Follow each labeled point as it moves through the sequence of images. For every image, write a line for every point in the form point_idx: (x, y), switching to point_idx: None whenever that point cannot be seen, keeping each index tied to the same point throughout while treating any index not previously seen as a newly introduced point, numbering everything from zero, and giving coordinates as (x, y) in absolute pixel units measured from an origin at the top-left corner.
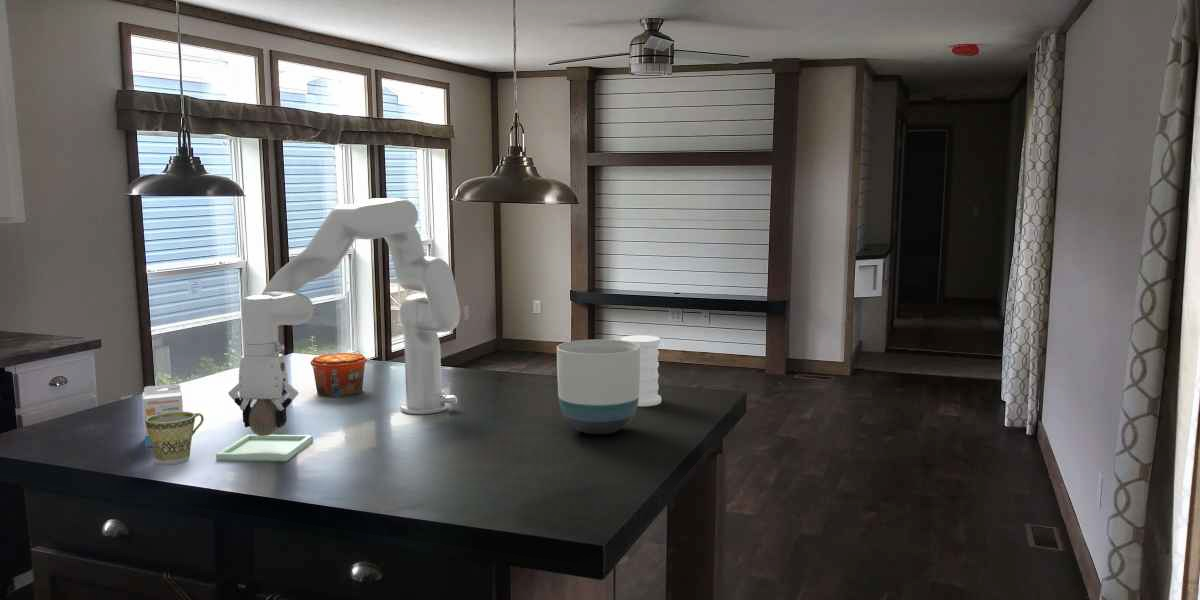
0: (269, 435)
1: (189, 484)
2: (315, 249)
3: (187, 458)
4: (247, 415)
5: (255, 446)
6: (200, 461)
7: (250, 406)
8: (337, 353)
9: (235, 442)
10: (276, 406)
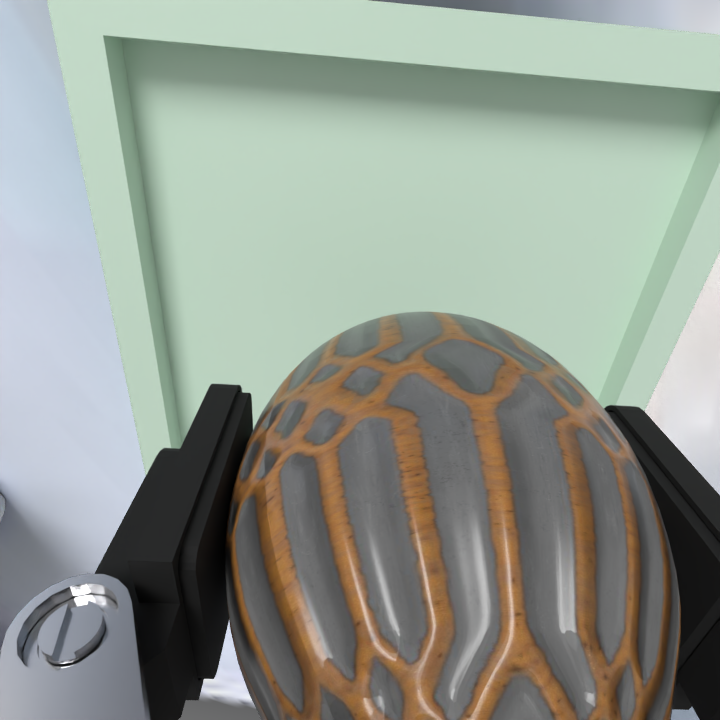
0: (331, 40)
1: (245, 699)
2: None
3: (1, 513)
4: (227, 614)
5: (296, 293)
6: (88, 504)
7: (168, 632)
8: None
9: (117, 297)
10: (677, 660)
